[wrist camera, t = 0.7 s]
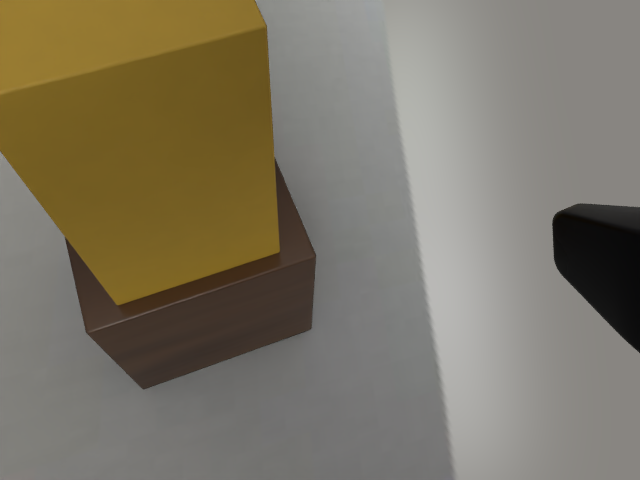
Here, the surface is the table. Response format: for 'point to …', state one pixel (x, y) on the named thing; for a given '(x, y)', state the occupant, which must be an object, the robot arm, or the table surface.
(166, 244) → the yellow rectangular block
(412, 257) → the table surface
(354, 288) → the table surface
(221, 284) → the stand
